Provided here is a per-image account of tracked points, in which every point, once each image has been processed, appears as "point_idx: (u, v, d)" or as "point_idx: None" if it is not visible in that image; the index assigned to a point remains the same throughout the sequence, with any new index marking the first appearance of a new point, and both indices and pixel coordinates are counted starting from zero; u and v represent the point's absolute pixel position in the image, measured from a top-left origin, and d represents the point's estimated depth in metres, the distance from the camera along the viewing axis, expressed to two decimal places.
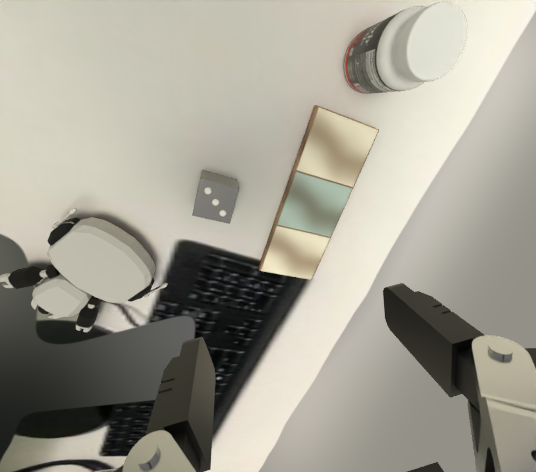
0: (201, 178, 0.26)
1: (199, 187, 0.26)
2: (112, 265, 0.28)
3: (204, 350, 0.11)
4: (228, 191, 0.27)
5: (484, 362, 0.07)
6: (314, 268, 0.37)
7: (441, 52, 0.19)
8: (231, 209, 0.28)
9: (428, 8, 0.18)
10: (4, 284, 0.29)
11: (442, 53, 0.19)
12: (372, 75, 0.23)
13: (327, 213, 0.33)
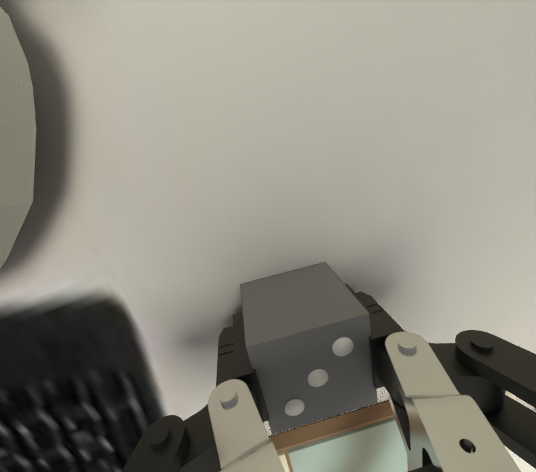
0: None
1: (343, 323, 0.08)
2: None
3: None
4: (361, 387, 0.09)
5: (399, 360, 0.07)
6: None
7: None
8: (315, 417, 0.09)
9: None
10: None
11: None
12: None
13: None
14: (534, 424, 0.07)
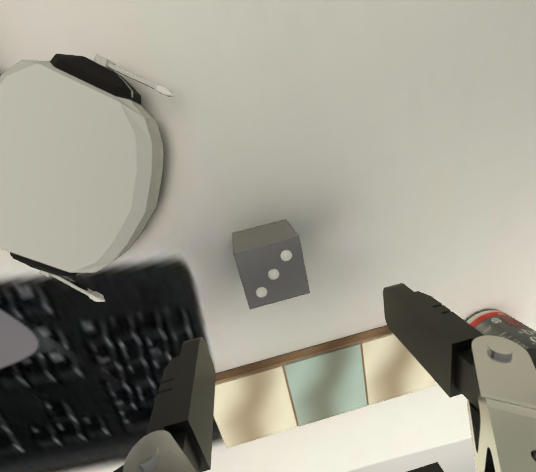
0: None
1: (285, 241, 0.16)
2: (84, 198, 0.13)
3: (204, 350, 0.11)
4: (299, 281, 0.17)
5: (484, 362, 0.07)
6: (245, 440, 0.24)
7: None
8: (273, 299, 0.17)
9: None
10: None
11: None
12: None
13: (326, 403, 0.24)
14: None
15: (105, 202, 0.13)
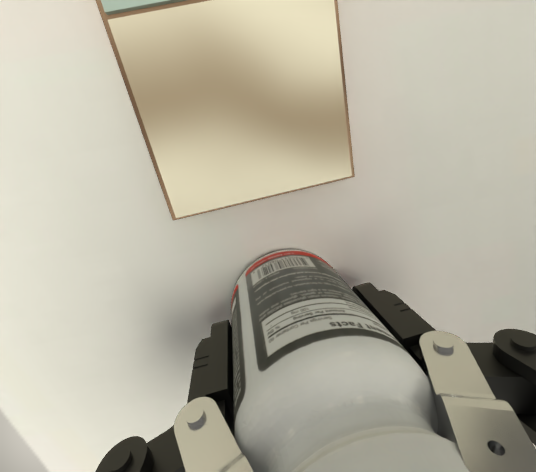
0: None
1: None
2: None
3: (231, 332, 0.11)
4: None
5: (432, 358, 0.07)
6: None
7: None
8: None
9: None
10: None
11: None
12: (363, 315, 0.08)
13: None
14: None
15: None
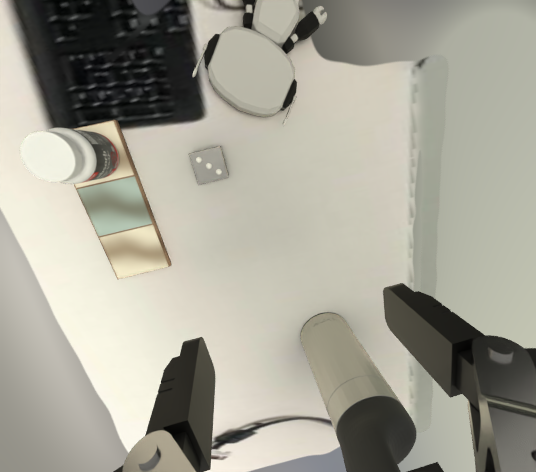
0: (227, 177, 0.35)
1: (225, 171, 0.34)
2: (245, 81, 0.31)
3: (204, 350, 0.11)
4: (204, 179, 0.34)
5: (484, 362, 0.07)
6: None
7: (38, 155, 0.25)
8: (194, 166, 0.33)
9: (74, 168, 0.25)
10: (322, 9, 0.32)
11: (37, 155, 0.24)
12: (79, 131, 0.28)
13: (100, 207, 0.36)
14: None
15: (243, 90, 0.31)
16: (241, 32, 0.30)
